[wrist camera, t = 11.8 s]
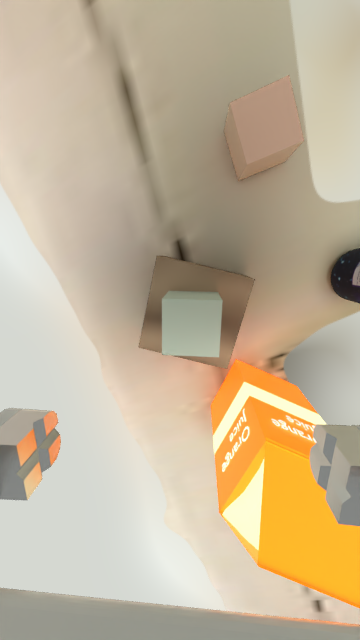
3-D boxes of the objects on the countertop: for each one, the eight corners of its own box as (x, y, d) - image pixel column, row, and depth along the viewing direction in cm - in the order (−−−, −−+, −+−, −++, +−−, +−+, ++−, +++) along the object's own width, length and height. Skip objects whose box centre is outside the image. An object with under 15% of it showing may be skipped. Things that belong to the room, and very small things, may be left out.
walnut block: (163, 256, 29) (156, 255, 25) (245, 275, 29) (254, 279, 24) (147, 333, 32) (138, 347, 27) (222, 352, 32) (227, 369, 27)
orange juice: (236, 358, 32) (294, 517, 12) (297, 385, 32) (450, 583, 13) (209, 406, 34) (224, 608, 14) (268, 431, 34) (359, 663, 15)
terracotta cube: (223, 131, 26) (229, 102, 21) (271, 110, 25) (289, 74, 20) (238, 181, 27) (247, 164, 22) (284, 162, 26) (304, 140, 21)
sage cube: (168, 290, 25) (161, 298, 21) (217, 292, 25) (222, 300, 20) (168, 337, 27) (161, 354, 22) (215, 338, 26) (219, 357, 21)
